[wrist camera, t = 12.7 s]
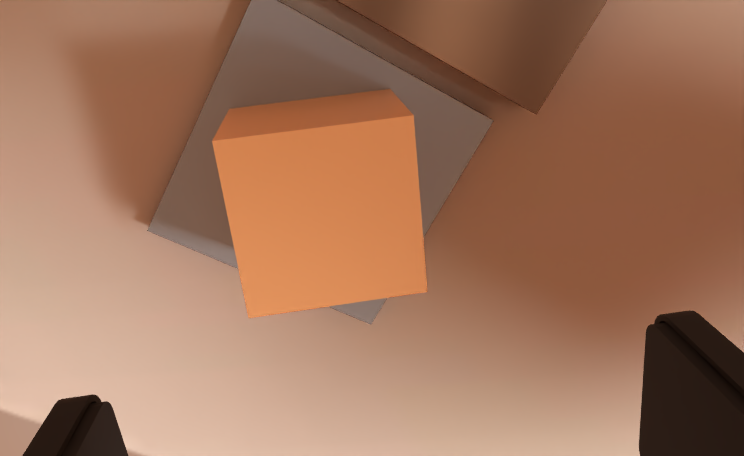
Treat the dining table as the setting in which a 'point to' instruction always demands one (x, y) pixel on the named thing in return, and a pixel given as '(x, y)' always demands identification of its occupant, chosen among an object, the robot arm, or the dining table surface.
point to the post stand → (493, 38)
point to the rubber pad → (298, 82)
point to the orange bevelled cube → (323, 201)
